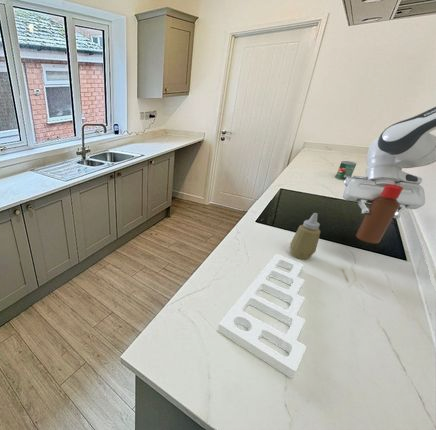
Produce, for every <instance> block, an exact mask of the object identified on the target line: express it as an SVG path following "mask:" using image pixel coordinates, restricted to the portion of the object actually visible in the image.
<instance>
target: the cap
mask: <svg viewBox="0 0 436 430" xmlns="http://www.w3.org/2000/svg"><path fill="white" fill-rule="evenodd" d="M402 189H403V187H401V186H398V185H393V184H386V185H385V187H384V189H383V191H382V193H381V196H383V197H386V198H391V199H397V198H398V197H399V195H400V193H401V191H402Z"/></svg>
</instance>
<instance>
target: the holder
mask: <svg viewBox="0 0 436 430" xmlns="http://www.w3.org/2000/svg"><path fill="white" fill-rule="evenodd" d="M304 266H305V264H304V263H302V262H299V261H297V260H294V259H291V258H288V257H286V256H283V255H281V254H278V253H276V254H274V256H273V257H272V258H271V259H270V260H269V262H267V264H266V265H265V267H264V268H263V269H262V270H261V271H260V272H259V273H258V275H257V276H256V277H255V278H254V280H253V281H252V282H251V283H250V284H249V286H248V287H247V288H246V290H245V291H244V292H243V293H242V294H241V295H240V297H239V298H238V299H237V300H236V302H235V303H234V304H233V305H232V306H231V308H230V309H228V311H227V313H226V314H224V316H223V318H222V319H221V320H220V321H219V322H218V326H217V329H216V330H217V332H218V333H220V334H221V335H222V336H224V337H226V338H228V339H229V340H230V341H232V342H233V343H236V344H237V345H239V346H240V347H242V348H243V349H245V350H246V351H248V352H250V353H251V354H252V355H254V356H256V357H257V358H259V359H260V360H261V361H264V362H265V363H266V364H268V365H269V366H271V367H272V368H274V369H275V370H277V371H279V372H280V373H282V374H283V375H285V376H287V377H288V378H289V379H293V378H294V376H295V374H296V372H297V369H298V367H299V365H300V363H301V360H302V358H303V356H304V354H305V351H306V349H307V345H305V344H304V343H303V342H301V341H298V337H299V335H300V333H301V331H302V330H303V327H304V325H305V323H306V319H305V318H304V317H301V316H300V315H298V314H299V312H300V310H301V308H302V306H303V304H304V301H305V300H306V298H305V297H304V296H302V295H300V294H299V293H300V291H301V289H302V287H303V285H304V283H305V279H304V278H302V277H299V276H300V275H301V273H302V271H303V268H304ZM278 267H281V268H283V269H286V270H288V271H289V272H288V271H285V270H282V269H281V268H278ZM270 278H273V279H274V280H277V281H280V282H281V283H284V284H287V285H289V288H285V287H282V286H280V285H278V284H276V283H274V282H271V281H269V279H270ZM259 291H262V292H265V293H267V294H269V295H271V296H273V297H275V298H277V299H280V300H281V301H283V302H286V303H288V304H289V306H288V308H283V307H281V306H280V305H277V304H276V303H274V302H272V301H270V300H268V299H266V298H264V297H262V296H260V295H257V294H258V293H259ZM248 306H251V307H254V308H255V309H256V310H259V311H261V312H263V313H265V314H266V315H268V316H270V317H272V318H274V319H276V320H278V321H280V322H281V323H284V324H285V325H288V327H289V328H288V329H287V332H283V331H281V330H279V329H276V328H275V327H274V326H271V325H270V324H268V323H267V322H264V321H263V320H260V319H258V318H257V317H255V316H253V315H251V314H250V313H248V312H246V311H245V310H246V309H247V307H248ZM236 325H242V326H243V327H245V328H246V329H247V330H243V329H240V328H238V327H237V326H236ZM260 338H264V339H265V340H267V341H268V342H270V343H272V344H274V345H276V346H277V347H279V348H280V349H283V350H284V351H285V352H286V353H288V356H286V355H284V354H282V353H280V352H279V351H277V350H275V349H273V348H271V346H269V345H267V344H265V343H264V342H262V341H260Z"/></svg>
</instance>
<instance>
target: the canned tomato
mask: <svg viewBox="0 0 436 430" xmlns="http://www.w3.org/2000/svg"><path fill="white" fill-rule="evenodd" d="M356 166H357V162H355V161H354V162H353V161H350V160H349V161H346V160H342V161H340V164H339V166H338V169H337V172H336V174H335V179H337V180H341V181H345V179H346V178H347V177H350V176H353V173H354V170H355V169H356Z"/></svg>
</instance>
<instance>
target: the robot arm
mask: <svg viewBox="0 0 436 430" xmlns="http://www.w3.org/2000/svg"><path fill="white" fill-rule="evenodd" d="M433 131H436V106H434V107H432V108H430V109H428V110H427V109H426V111H424V112H421V113H419V114H417V115H414V116H412V117H409V118H406V119H403V120H400V121H398V122H395V123H393V124H391V125H389V126H387V127H386V128H384V130H383V131H382V132H381V134H380V135H379V137H376V138H374V139H373V140H372V141H371V142H370V144H369V147H368V149H367V153H366V154H367V155H366V166H367V167H366V170H365V176H358V175H351V176H350V177H347V178H346V179H345V180H344V185H345V187H344V190H343V194H342V198H343V199H344V200H345V201H349V202H357V205H358V206H359V208H360V209H361V214H363V215H366V214H369V213H370V211H369V210H370V208H369V207H367V205H366V204H371V203H372V201H373V199H375V198H377V197H380V196H381V193H382V191H383V189H384V187H385V185H386V184H393V185H398V186H401V187H403V189H402V191H401V193H400V195H399V197H398V198H397V201H398V203H399V207H398V209H397V211H396V213H395V215H394V217H393V218H392V219H397V220H398V219H400V218H401V213H402V212H403V211H404V210H405V209H409V210H417V209H419V208H421V207H423V206H424V205H425V203H426V195H425V194H426V193H425V189H424V187H423V186H422V185H421V184H422V183H423V178H422V177H420V176H417V175H414V174H411V173H409V172H405V171H403V169H412V168H420V167H425V166H428V165H432V164H433V163H436V135H434V134H433V133H431V132H433Z"/></svg>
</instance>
